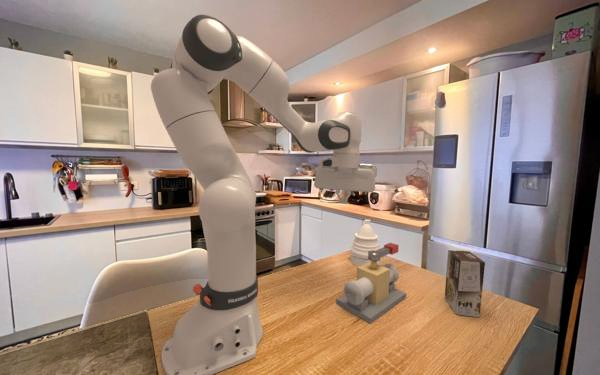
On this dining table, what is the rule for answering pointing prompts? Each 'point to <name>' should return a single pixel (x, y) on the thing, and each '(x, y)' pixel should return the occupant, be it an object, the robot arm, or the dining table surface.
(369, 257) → the lever
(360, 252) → the honey pot
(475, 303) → the coffee box
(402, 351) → the dining table surface
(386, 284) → the valve
